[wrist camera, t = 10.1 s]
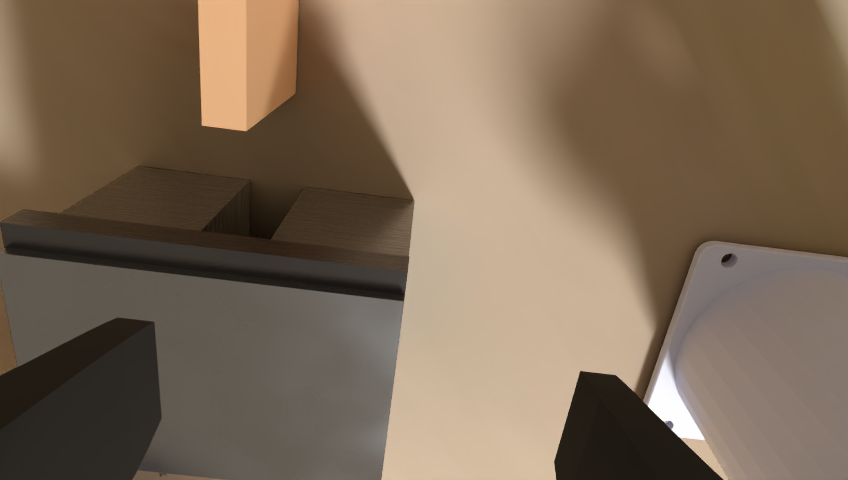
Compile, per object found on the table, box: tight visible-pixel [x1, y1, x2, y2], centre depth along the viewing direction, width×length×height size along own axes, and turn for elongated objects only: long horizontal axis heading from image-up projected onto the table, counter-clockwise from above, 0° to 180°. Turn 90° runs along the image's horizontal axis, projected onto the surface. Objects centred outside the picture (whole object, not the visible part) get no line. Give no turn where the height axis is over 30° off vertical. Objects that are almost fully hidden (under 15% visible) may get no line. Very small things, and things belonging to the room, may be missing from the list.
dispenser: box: [0, 166, 414, 480], centre depth 17 cm, size 9×7×7 cm
